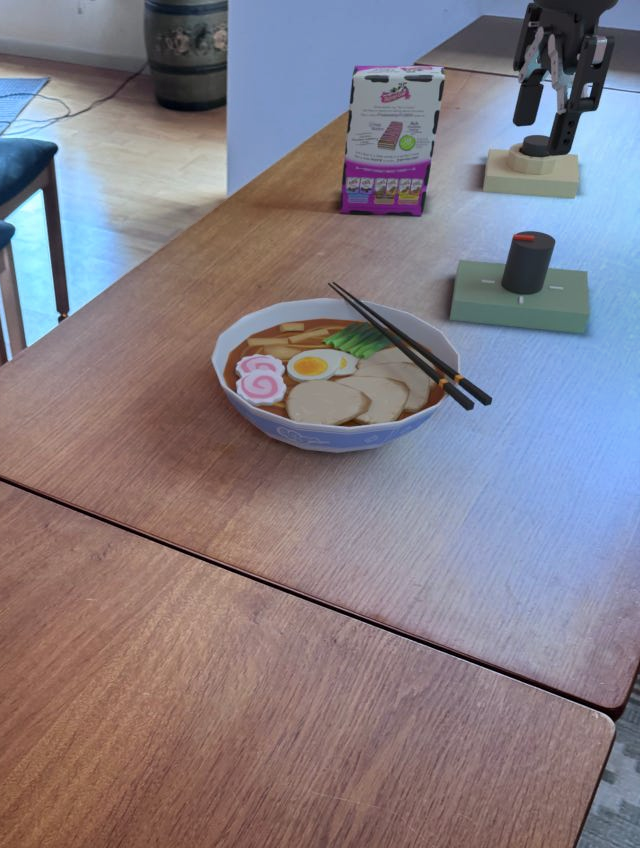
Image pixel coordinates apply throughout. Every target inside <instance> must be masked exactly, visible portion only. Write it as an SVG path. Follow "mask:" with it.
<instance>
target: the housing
mask: <svg viewBox="0 0 640 848" xmlns="http://www.w3.org/2000/svg"><path fill="white" fill-rule="evenodd" d="M522 144H523V142H517V143H515V144H514V145H511V146H510V147H509V149H497V148H495V149H494V148H489V149H488V153H487V156H486V157H487V158H486V162H485V170H484V178H483V184H482V185H483V186H482V193H494V194H506V195H521V196H533V197H546V198H557V199H559V198H560V199H573V200H575V199H576V196H577V192H578V189H579V186H580V170H579V169H580V168H579V154H574V153H568V154H566V155H559V156H548V157H530V156H527V155H523V154H522V153H520V152H521V148H522Z"/></svg>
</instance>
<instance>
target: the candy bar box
mask: <svg viewBox="0 0 640 848" xmlns="http://www.w3.org/2000/svg"><path fill="white" fill-rule="evenodd" d="M445 80H446V74H445V65H354V67H353V72H352V77H351V86H350V95H349V106H348V117H347V126H346V136H345V145H344V146H345V147H344V155H343V168H342V177H341V187H340V188H341V189H340V196H339V206H338V212H339V214H343V215H344V214H347V215H349V214H350V215H373V216H374V215H375V216H377V215H378V216H407V217H408V216H410V217H411V216H412V217H422V216H423V215H424V210H425V205H426V204H425V203H426V199H427V198H426V197H427V191H428V186H429V179H430V175H431V174H430V173H431V167H432V161H433V156H434V150H435V149H434V148H435V144H436V143H435V142H436V136H437V131H438V124H439V119H440V114H441V113H440V112H441V106H442V101H443V95H444V94H443V93H444V90H445V82H446V81H445Z"/></svg>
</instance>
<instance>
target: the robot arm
mask: <svg viewBox="0 0 640 848" xmlns="http://www.w3.org/2000/svg"><path fill="white" fill-rule="evenodd" d="M618 3H619V0H533V2H529V3H527V6H526V8H525V9H526V10H525V14H524V18H523V22H522V25H521V30H520V34H519V38H518V42H517V46H516V50H515V54H514V58H513V62H512V70H513V71H514V72H518V76H517V80H518V81H517V82H518V83H519V84H520V86H519V90H518V95H517V99H516V104H515V108H514V111H513V115H512V116H513V117H512V124H513V125H514V126H515V127H529V126H533V125H534V124H535V123H536V120H537V116H538V111H539V107H540V103H541V99H542V95H543V91H544V88H545V85H544V84H543V83H544V82H545V81H546V79H547V77H548V76H549V75H551V79H550V80H551V81H550V82H551V87H552V89H553V90H554V91H556V111H557V112H555V115H554V118H553V123H552V127H551V130H550V134H549V136H548V137H549V141H548V145H547V149H546V151H547V153H548V154H550V155H551V156H559V155H566V154H570V152H571V150H572V147H573V145H574V140H575V136H576V133H577V130H578V126H579V123H580V118H581V116H582V114H584V113H590V112H596V111H598V108H599V107H600V101H601V98H602V94H603V90H604V86H605V83H606V79H607V75H608V71H609V68H610V63H611V60H612V55H613V53H614V48H615V45H616V38H615V36H614V35H603V36H602V35H601V36H600V35H599V24H600V17H601V16H602V15H603V14H604V13H605V12H606V11H610V10H611V9H613V8H614V7H615V6H617V4H618ZM528 47H529V48H528ZM541 82H542V83H541ZM589 84H592V85H591V89H590V93H589ZM569 89H571V90H570V94H569Z"/></svg>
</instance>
